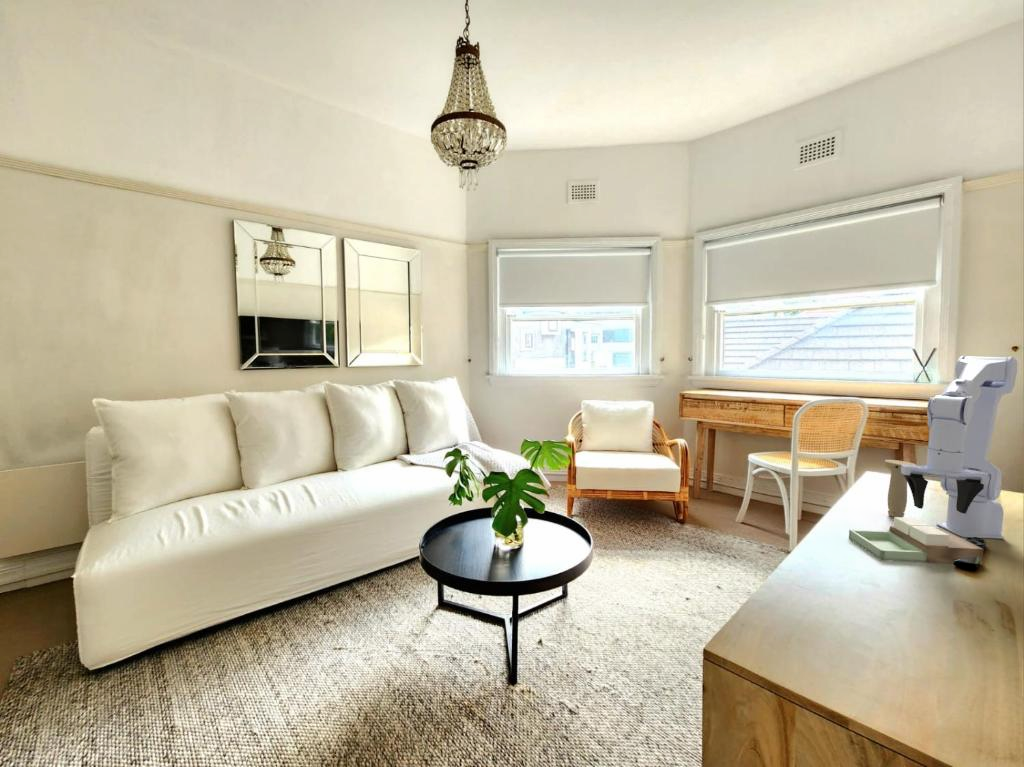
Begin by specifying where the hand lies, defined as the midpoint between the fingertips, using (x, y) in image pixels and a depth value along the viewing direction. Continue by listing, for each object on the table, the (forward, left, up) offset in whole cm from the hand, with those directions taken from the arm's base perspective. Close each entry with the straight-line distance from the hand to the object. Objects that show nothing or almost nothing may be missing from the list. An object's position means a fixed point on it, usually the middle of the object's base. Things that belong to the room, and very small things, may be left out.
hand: (939, 509), depth 101 cm
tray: (+10, 0, -10) cm, 14 cm away
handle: (-7, -22, -10) cm, 25 cm away
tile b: (+3, +2, -7) cm, 8 cm away
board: (0, 0, -10) cm, 10 cm away
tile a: (+3, -3, -7) cm, 8 cm away
